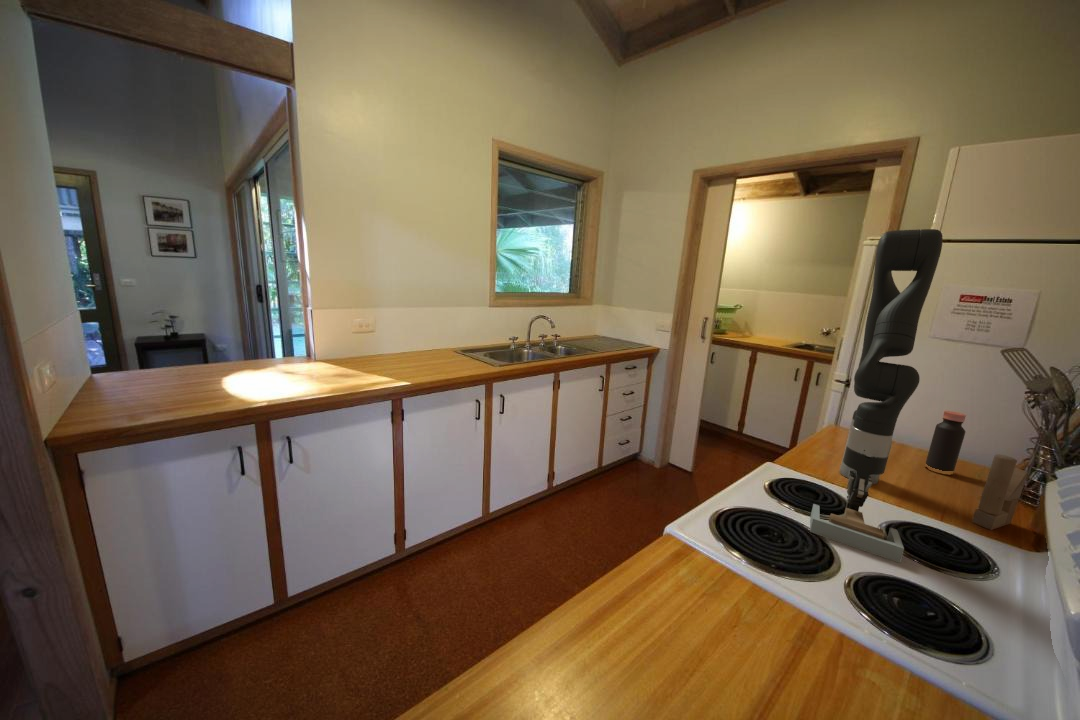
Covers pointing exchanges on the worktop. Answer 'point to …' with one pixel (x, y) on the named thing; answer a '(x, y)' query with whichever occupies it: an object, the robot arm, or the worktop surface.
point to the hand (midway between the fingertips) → (849, 516)
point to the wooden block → (1000, 493)
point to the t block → (856, 523)
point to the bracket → (858, 537)
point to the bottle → (946, 442)
